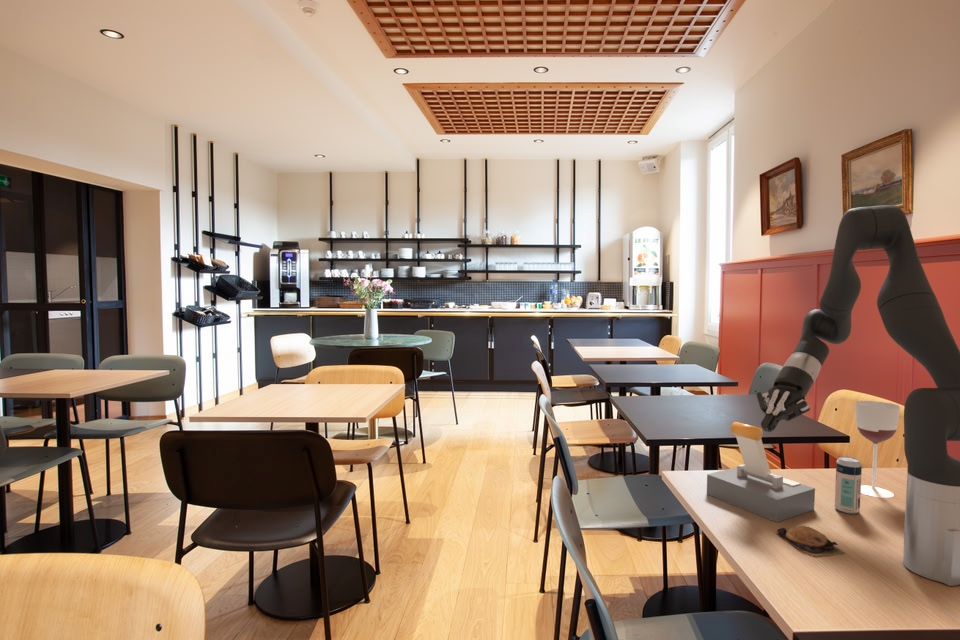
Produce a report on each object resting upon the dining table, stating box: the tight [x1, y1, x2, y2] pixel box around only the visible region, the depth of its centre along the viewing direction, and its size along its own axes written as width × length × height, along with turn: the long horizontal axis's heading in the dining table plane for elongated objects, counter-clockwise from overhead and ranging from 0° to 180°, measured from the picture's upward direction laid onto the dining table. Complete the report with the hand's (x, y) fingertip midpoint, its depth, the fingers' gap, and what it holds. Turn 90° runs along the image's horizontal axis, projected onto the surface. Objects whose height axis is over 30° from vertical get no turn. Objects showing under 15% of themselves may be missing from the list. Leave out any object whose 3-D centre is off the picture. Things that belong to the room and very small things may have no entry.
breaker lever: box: [730, 421, 774, 483], centre depth 125 cm, size 3×7×15 cm, turn 28°
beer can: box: [834, 456, 863, 515], centre depth 122 cm, size 5×5×12 cm
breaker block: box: [706, 463, 816, 523], centre depth 127 cm, size 14×18×8 cm
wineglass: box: [854, 400, 901, 499], centre depth 133 cm, size 9×10×22 cm
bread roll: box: [775, 525, 846, 558], centre depth 107 cm, size 11×8×4 cm
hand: (765, 429), depth 127 cm, fingers closed
